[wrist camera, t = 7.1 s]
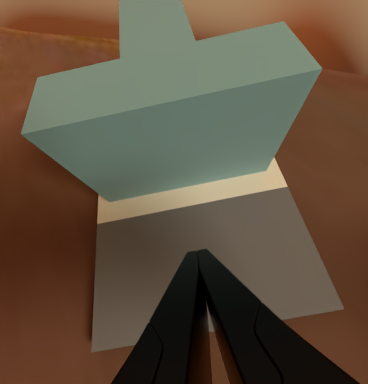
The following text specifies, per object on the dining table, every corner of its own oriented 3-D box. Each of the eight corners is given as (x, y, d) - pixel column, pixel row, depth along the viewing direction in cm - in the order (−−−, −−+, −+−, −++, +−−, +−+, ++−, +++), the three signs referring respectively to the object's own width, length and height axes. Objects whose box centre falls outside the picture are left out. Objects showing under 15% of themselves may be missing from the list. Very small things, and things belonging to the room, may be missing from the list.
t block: (266, 170, 15) (322, 68, 8) (109, 202, 15) (20, 134, 8) (229, 83, 19) (242, -30, 12) (110, 109, 20) (56, 15, 13)
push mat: (335, 307, 11) (344, 309, 10) (98, 347, 12) (91, 352, 11) (234, 81, 21) (235, 74, 20) (106, 109, 21) (102, 103, 21)
